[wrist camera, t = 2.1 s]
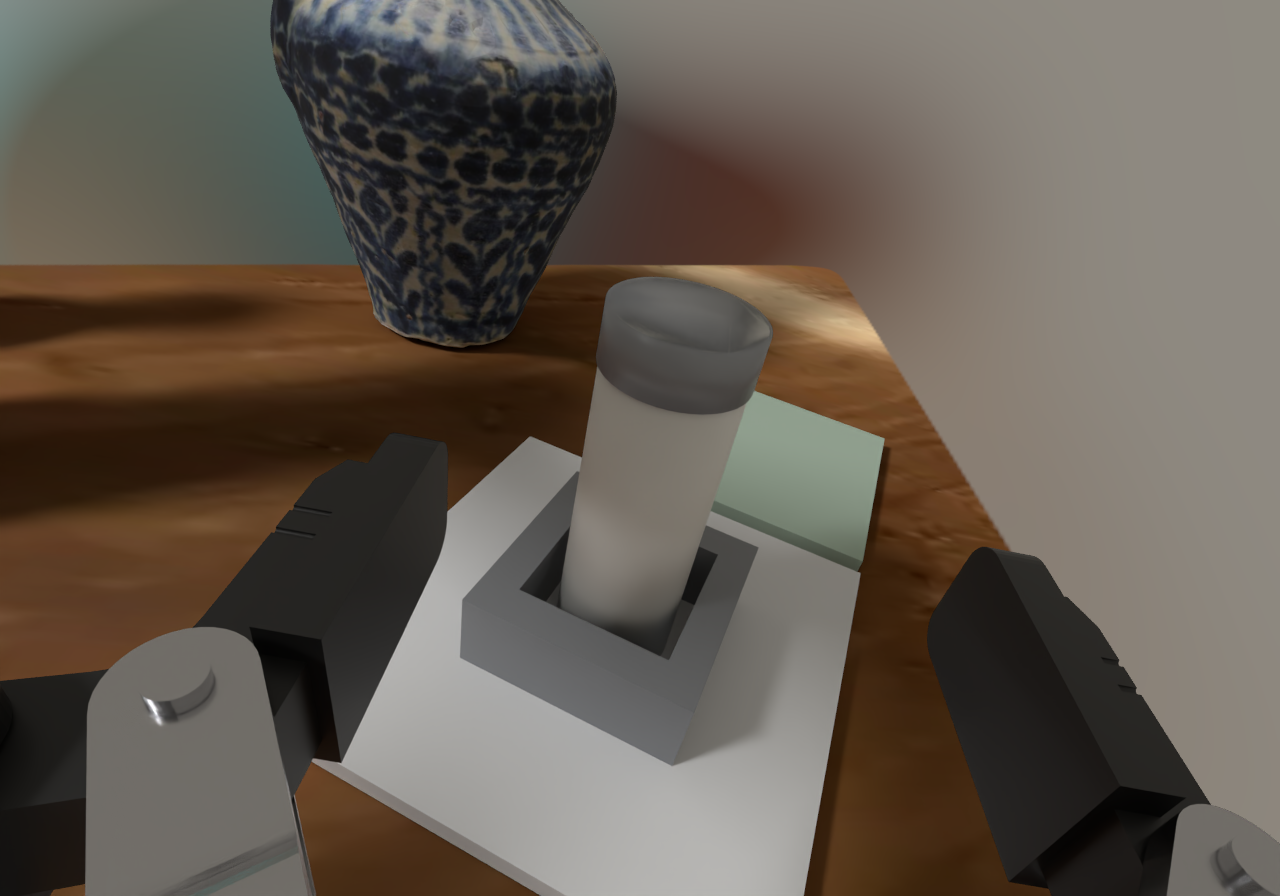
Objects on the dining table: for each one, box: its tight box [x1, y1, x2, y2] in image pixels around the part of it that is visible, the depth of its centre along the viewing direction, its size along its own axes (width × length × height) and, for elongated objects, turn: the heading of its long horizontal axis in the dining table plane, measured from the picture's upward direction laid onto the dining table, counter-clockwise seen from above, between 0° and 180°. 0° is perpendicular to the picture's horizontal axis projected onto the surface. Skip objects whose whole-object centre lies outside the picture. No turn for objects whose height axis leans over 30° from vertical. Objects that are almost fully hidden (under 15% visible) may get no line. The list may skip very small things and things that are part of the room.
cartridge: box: [557, 277, 773, 656], centre depth 24 cm, size 5×5×15 cm
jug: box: [271, 0, 617, 348], centre depth 41 cm, size 21×19×30 cm
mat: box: [711, 391, 884, 572], centre depth 42 cm, size 14×14×1 cm
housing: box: [312, 436, 861, 896], centre depth 28 cm, size 20×20×4 cm
